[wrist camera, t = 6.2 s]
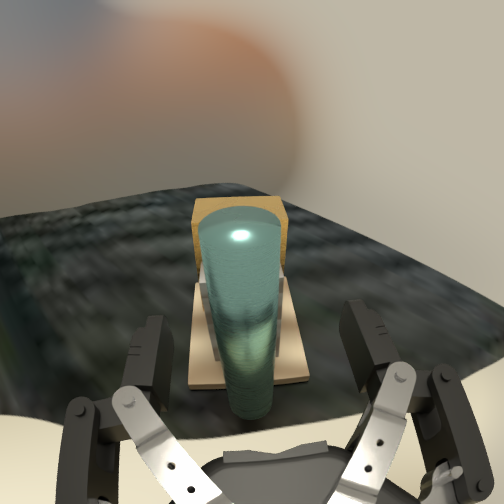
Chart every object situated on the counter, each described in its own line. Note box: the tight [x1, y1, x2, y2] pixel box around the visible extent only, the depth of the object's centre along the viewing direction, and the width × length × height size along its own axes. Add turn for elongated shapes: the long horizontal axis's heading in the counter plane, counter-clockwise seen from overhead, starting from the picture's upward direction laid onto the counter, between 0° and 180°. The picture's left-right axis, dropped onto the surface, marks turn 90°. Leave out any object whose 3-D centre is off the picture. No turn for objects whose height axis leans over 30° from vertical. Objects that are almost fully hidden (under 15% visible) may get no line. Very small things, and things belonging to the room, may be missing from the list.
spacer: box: [191, 196, 288, 311], centre depth 26 cm, size 4×7×9 cm, turn 94°
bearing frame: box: [188, 262, 310, 389], centre depth 28 cm, size 14×11×11 cm
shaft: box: [198, 206, 281, 420], centre depth 22 cm, size 18×3×15 cm, turn 4°
